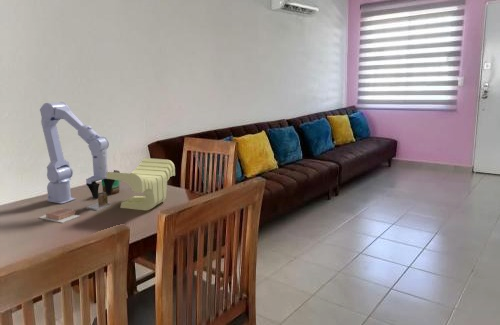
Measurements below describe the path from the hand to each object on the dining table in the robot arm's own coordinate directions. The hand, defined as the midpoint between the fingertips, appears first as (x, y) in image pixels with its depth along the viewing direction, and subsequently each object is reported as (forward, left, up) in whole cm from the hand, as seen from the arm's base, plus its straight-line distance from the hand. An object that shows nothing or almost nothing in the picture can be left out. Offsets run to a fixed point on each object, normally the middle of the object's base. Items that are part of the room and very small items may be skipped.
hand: (102, 196), depth 172 cm
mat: (-4, -19, -4) cm, 20 cm away
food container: (-9, +17, -4) cm, 20 cm away
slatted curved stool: (+16, +8, -4) cm, 19 cm away
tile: (-4, -14, -3) cm, 15 cm away
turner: (0, -3, -4) cm, 5 cm away
